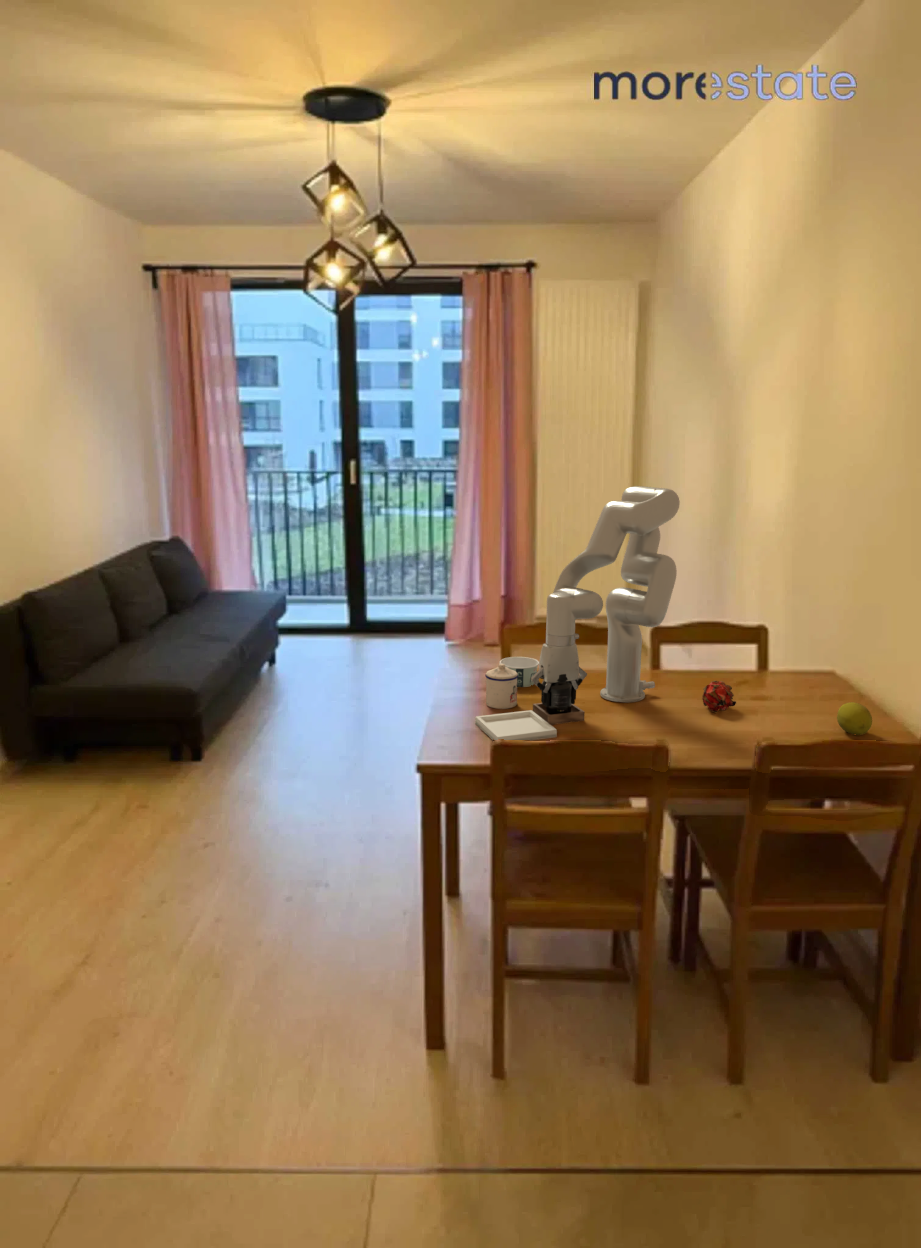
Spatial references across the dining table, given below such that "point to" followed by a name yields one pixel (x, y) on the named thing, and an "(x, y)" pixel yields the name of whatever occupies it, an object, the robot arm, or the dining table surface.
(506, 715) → the tray
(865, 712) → the lemon
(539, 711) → the holder
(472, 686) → the dining table surface
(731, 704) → the dragon fruit
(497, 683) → the teacup with lid
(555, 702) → the supplement bottle
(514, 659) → the food container
